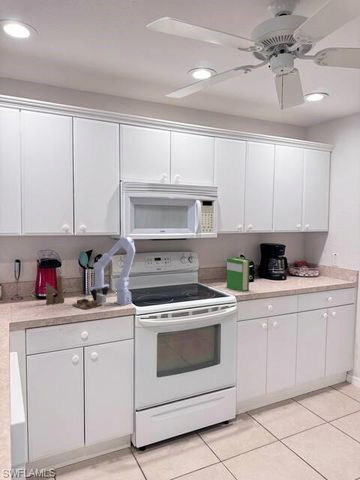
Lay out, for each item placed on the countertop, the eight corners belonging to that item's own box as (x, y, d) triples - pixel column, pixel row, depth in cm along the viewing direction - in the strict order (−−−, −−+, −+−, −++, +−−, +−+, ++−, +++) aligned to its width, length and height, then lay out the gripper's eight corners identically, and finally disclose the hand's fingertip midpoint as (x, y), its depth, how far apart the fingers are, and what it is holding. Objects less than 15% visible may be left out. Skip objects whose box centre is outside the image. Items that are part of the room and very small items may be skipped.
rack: (101, 305, 223) (101, 301, 223) (85, 309, 214) (85, 304, 213) (88, 302, 232) (88, 297, 232) (72, 305, 223) (72, 301, 223)
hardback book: (248, 290, 271) (249, 260, 270) (241, 291, 267) (242, 260, 266) (233, 286, 286) (233, 257, 284) (226, 287, 282) (227, 258, 280)
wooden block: (46, 303, 227) (45, 276, 226) (62, 301, 233) (62, 275, 232) (47, 305, 224) (47, 277, 223) (64, 302, 230) (64, 275, 229)
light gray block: (106, 302, 232) (106, 295, 232) (102, 303, 230) (102, 296, 229) (96, 300, 238) (96, 293, 238) (93, 301, 236) (93, 293, 236)
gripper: (104, 277, 241) (104, 296, 242) (86, 280, 230) (86, 300, 231) (110, 278, 236) (111, 298, 237) (93, 281, 225) (93, 302, 226)
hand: (99, 299), depth 234 cm, fingers open, 7 cm apart
